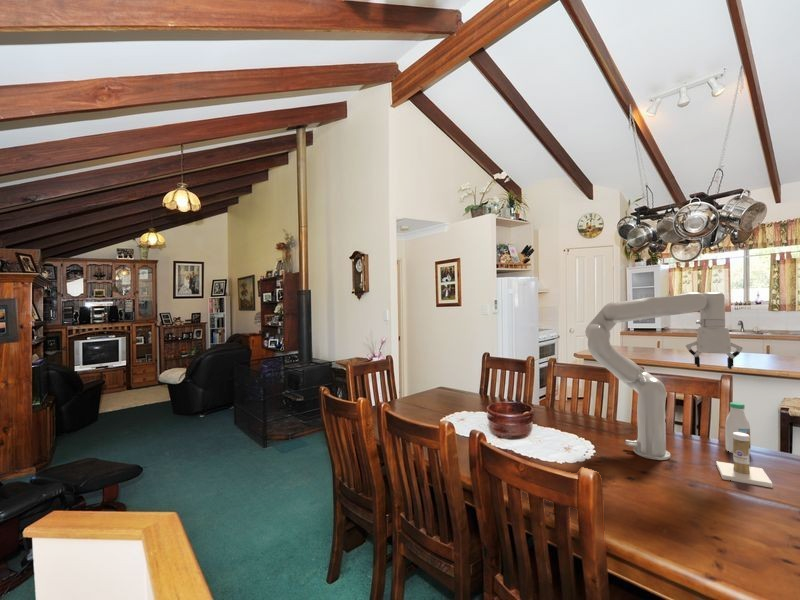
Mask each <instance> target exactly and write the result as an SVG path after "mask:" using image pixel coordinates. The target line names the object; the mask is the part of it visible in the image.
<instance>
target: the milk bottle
mask: <svg viewBox="0 0 800 600" xmlns="http://www.w3.org/2000/svg"><path fill="white" fill-rule="evenodd" d="M729 408H730V409H729V413H728V415H727V416H726V419H725V422H724V423H725V425H724V427H725V428H724V431H725V432H724V434H725V450H726V451H727V452H728V451H729V453H731V454H733V432H741V433H746V434H748V435H749V436H750V437H751V425H750V422H749V420H748V418H747V415H745V404H744V403H742V402H736V401H735V402H734V401H733V402H729ZM751 448H752V446H751V440H750V441H749V456H751V454H752V453H751V452H752V451H751Z"/></svg>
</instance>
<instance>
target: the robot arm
mask: <svg viewBox="0 0 800 600" xmlns="http://www.w3.org/2000/svg"><path fill="white" fill-rule="evenodd" d="M698 312H700V313H699V314H700V315H699V316H700V317H699V318H700V319H698V320H695V324H696V325H699V326H698V329H697V335H696V340H695V341H693V342H690V343H687V344H686V345H685V347H686V349H687V350H688V352H689V353H690V354H691V355H693V356H694V358H693V359H694V365H696V367H697V368H700V366H701V365H700V362H701V361H700V360H701V359H700V355H701V354H702V353H704V354H719V355H720V354H724V355H725V354H726V355H727V356H728V357H727V369H729V370H732V368H733V367H734V359H735V358H736V357H737V356H739V355H740V354H741V352H742V350H744V349H743V347H742V346H740V345H737V344H736V343H733V342H731V334H730V330H729V327H726V298H725V294H724V293H723V292H719V291H718V292H717V291H715V292H714V291H713V292H711V291H710V292H702V293H701V292H696V291H695V292H694V291H689V292H688V291H687V292H682V293H680V294H676V295H675V294H674V295H668V296H659V297H658V296H651V297H643V298H637V299H629V300H623V301H617V302H616V301H615V302H609V303H606V304H605V305H604V306H603V307H602V308H601V310H599V312H598V313H597V314H596V315H595V317H594V318H593V319H592V320H591V321H590V322H589V324H588V325H587V326H586V327H585V332H584V333H585V336H586V338H587V347H588V351H589V353H590V355H591V356H592V358H593V359H594V360H595V361H597V363H599V364H600V365H601V366H603V367H604V368H605V369H606V370H607V371H609V372H610V373H612V375H613V376H614V377H615V378H617V379H618V380H619V381H621V382H622V383H624V384H626V385H627V386H628V387H629V388H631V389H632V390H633V391H635V392H636V393H637V405H636V408H637V411H636V413H637V414H636V415H637V439H635V440H629V439H625V445H627V446H628V447H632V448H633V452H634V453H635V454H636V455H638V456H639V457H642V458H645V459H647V460H648V459H649V460H657V461H667V460H669V459H671V456H672V455H671V452H669V451H668V450H666V449H667V448H666V445H667V444H666V443H667V442H666V440H667V439H666V400H667V390H666V386H665V385H664V383H663V382H662V381H661V380H660V379H658V378H657V377H656V376H653V375H652V374H651V373H649V372H648V371H646V370H645V369H643V368H642V367H641V366H639V365H638V364H637V363H636V362H634V361H633V360H632V359H630V358H629V357H626V356H625V355H623V354H622V353H620V352H619V351H618V350H617V349H616V348H614V347H613V346H612V344H611V343H610V339H611V332H610V331H611V330H612V329H613V328H614V327H615V326H616V325H617V324H619V323H626V322H627V323H628V322H631V321H632V322H633V321H639V320H648V319H654V318H662V317H668V316H675V315H676V316H678V315H683V314H691V313H698ZM694 346H696V351H694V349H692V347H694ZM732 348H734V349H735V351H733V352H732V353H731V351H732Z"/></svg>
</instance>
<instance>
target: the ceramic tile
mask: <svg viewBox="0 0 800 600" xmlns="http://www.w3.org/2000/svg"><path fill="white" fill-rule="evenodd" d="M715 465H717V466H716V468H717V470H718V472H719V475H720V477H721V479H722V480H725V481H730V480H731V482H736V483H737V482H738V483H742V484H747V485H754V486H761V487H766V488H771V489H773V487H774V485H773V482H772V480H771V479H770V477H769V476H768V475H767V473H766V471H764V469H763V468H761V467H756V466H750V465H749V468H750V469H749V470H750V473H747V474H745V473H740V472H737V471H735V470H734V469H733V468H734V463H730V462H724V461H717V460H716V461H715Z"/></svg>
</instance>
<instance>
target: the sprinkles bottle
mask: <svg viewBox="0 0 800 600" xmlns="http://www.w3.org/2000/svg"><path fill="white" fill-rule="evenodd" d="M749 441H750V442H751V435H750V436H749V435H748V434H746V433H741V432H733V453H732V459H733V464H734V468H733V469H734V470H735V471H737V472H740V473H745V474H747V473H750V470H749V469H750V468H749V466H750V462H751V461H750V455H749Z"/></svg>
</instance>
